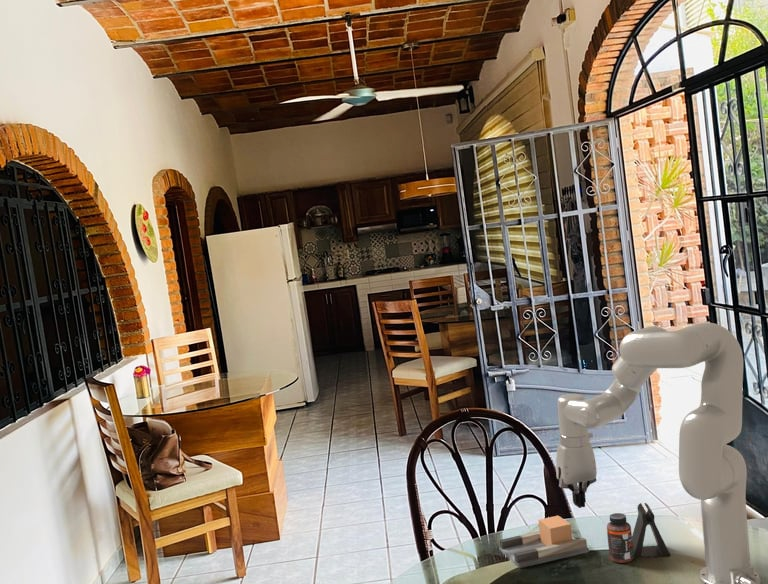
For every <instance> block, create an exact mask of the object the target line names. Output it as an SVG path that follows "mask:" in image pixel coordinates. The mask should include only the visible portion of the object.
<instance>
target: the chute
mask: <svg viewBox="0 0 768 584" xmlns="http://www.w3.org/2000/svg"><path fill="white" fill-rule="evenodd" d="M498 549H499V551H500V552H502V553H503V555H505V556H506V558H508V559H509V560H510V561H511V562H512V563H513V564H514V565H515V566H516V567H517V568H518V569H522V568H526V567H530V566H531V567H532V566H534V565H535V566H536V565H539V564H543V563H547V562H551V561H552V562H553V561H556V560H560V559H564V558H569V557H573V556H578V555H581V554H586V553H589V552H590V549H589V547H588V543H587V538H585V537H579V538H575V537H574V536H573V535H572V540H570V541H566V542H561V543H557V544H553V545H548V546H546V545H545V544H543V543H542V542H541V541H540V531H539V530H538V531H534V532H529V533H525V534H521V535H520V534H519V535H516V536H511V537H506V538H503V539H502V538H501V539H499V545H498Z"/></svg>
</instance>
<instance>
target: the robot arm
mask: <svg viewBox="0 0 768 584" xmlns="http://www.w3.org/2000/svg"><path fill="white" fill-rule="evenodd" d="M619 354H620V356H618V358H617V359H616V360H615V361H614V362H613V364H612V366H611V372H612V373H611V374H612V375H613V377H614V378H615V379H614V380H613V382H612V383H611V385H610V386H608V388H607V389H606V390H605V391H604V392H603V393H600V394H597V395H596V396H593V397H590V398H588V399H586V397H585V396H584V395H583V394H578V393H566V394H561V395H560V396H559V397H558V398H557V402H556V403H557V413H558V414H557V415H558V416H557V417H558V426H559V439H560V440H559V441H560V444H559V445H557V448H556V449H557V450H556V457H555V461H556V462H555V464H556V465H555V472H556V480H559V482H558V483H559V484H558V487H559V488H561V489H564V490H565V489H566V490H567V489H568V490H569V491H571V493H572V503H573V505H574V506H575V507H577V508H579V509H581V508H585V507H586V501H587V500H586V493H587V490H588V488H589V486H590V485H592V484H594V483H596V482H597V481H598V480H597V474H598V473H597V470H598V469H597V464H596V457H595V453H594V448H593V445H592V443H591V442H590V439H592V438H593V435H594V434H593V433H592V432H589V429H591V430H592V429H593V430H594V429H597V428H600V427H602V426H605V425H606V424H609V423H612V422H613V421H616V420H618V419H620V418H621V417H622V416H623V415H624V414H625V413H626V412H627V411H628V410H629V408H630V407H631V406H632V405H634V403H635V402H636V400H637V399H638V397H639V395H640V392H641V391H642V387H643V386H644V384H645V383H646V382H647V381H648V380H649V378H650V377H651V376H652V375H653V374H654V372H656V370H657V369H684V368H686V369H687V368H690V367H691V368H692V367H693V366H696V365H699V364H702V363H704V370H703V374H702V378H701V382H700V383H701V385H700V389H701V391H700V392H701V394H700V403H699V406H698V407H697V408H695V409H693V410H691V411H690V412H688V413H687V414H686V415H685V417H684V418H683V419H682V421H681V424H680V427H679V437H678V438H679V439H678V475H679V481H680V484H681V486H682V488H683V489H684V491H685V492H686V493H687V494H688V495H689V496H690V497H692V498H694V499H695V500H696V499H697V500H699V501H700V511H701V514H700V515H701V523H702V533H703V545H704V546H703V547H704V559H705V566H704V567H702V568H701V569H700V571H699V578H700V581H701V580H702V581H703V582H704V583H706V584H761V582H762V579H761V578H760V575H759V573H757V572H756V571H755V570H754V566H753V565H752V561H751V551H750V538H749V528H748V518H747V517H748V516H747V502H746V493H747V492H746V489H747V476H748V474H747V472H748V470H747V465H746V464H747V463H746V461H745V459H744V456H743V455H742V453H741V452H740V451H739V450H737V448H735V447H734V446H732V445H728V444H729V443H730V442H732V441H734V440H736V439H737V437H739V435H740V434H741V432H742V427H743V382H744V356H743V349H742V347H741V344H740V343H739V341H738V339H737V338H736V337H735V335H734V334H733V333H731V331H730V330H728V328H725V327H724V326H722V325H720V324H717V323H713V322H700V323H695V324H692V325H690V326H689V325H688V326H687V327H686V326H685V327H684V328H680V329H677V330H670V331H669V330H666V329H665V328H663V327H660V326H656V325H652V326H646V327H643V328H640V329H636V330H633V331H631V332H629V333H627V334H626V335H625V336H624V337H623V339H621V342H620V344H619ZM702 581H701V582H702ZM703 582H702V583H703ZM704 583H703V584H704Z"/></svg>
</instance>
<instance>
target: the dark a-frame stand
mask: <svg viewBox="0 0 768 584" xmlns="http://www.w3.org/2000/svg"><path fill="white" fill-rule="evenodd" d="M644 506H645V508H646V509H647V511H646V509H645V508H644ZM636 508H637V517H636V522H635V525H634V528H633V532H632V543H633V554H634V555H633V556H634V558H633V559H646V558H647V559H648V558H665V557H667V558H668V557H671V554H670V551H669V549H668V547H667V546H666V544H665V541H664V539H663V536H662V535H661V533H660V531H659V528H658V526H657V525H656V523H655V514H654V512H653V511H652V509H651V507H650V506H649V504H648V503H646V502H644V505H643V504H642V502H641V503H639V504H637V507H636ZM647 526H649V527H650V530H651V532H652V535H653V537H654V539H655V543H656V545H647V546H644V540H645V536H646V530H647Z"/></svg>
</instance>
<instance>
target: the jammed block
mask: <svg viewBox="0 0 768 584" xmlns="http://www.w3.org/2000/svg"><path fill="white" fill-rule="evenodd" d="M537 521H538V531H540V541H541V542H542V543H543V544H545V545H546V546H548V545H553V544H557V543H561V542H566V541H570V540H572V536H573V533H572V526H571V525H572V524H571V523H570V522H568V521H567V520H566V519H564V518H562V517H561V516H559V515H555V516H550V517H545V518H540V519H538V520H537Z"/></svg>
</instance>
